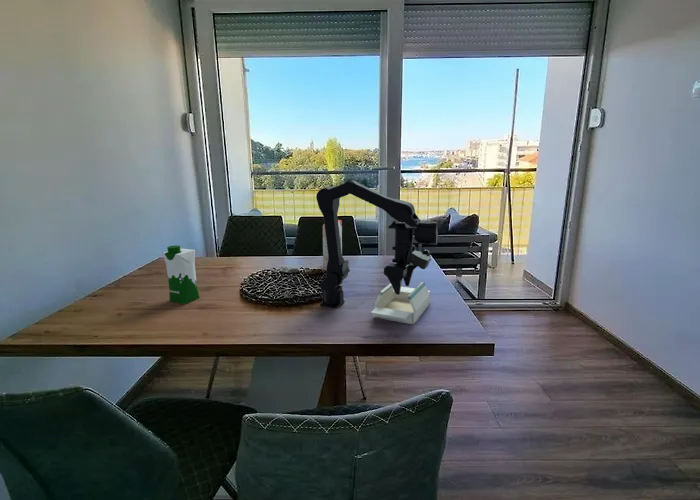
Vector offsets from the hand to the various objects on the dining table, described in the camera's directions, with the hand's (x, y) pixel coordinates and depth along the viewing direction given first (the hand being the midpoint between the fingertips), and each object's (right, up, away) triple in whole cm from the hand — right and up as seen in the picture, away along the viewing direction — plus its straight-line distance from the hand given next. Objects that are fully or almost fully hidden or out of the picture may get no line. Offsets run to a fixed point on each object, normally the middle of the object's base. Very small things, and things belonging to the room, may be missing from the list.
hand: (402, 289), depth 127 cm
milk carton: (-76, -5, +14) cm, 78 cm away
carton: (0, -7, +2) cm, 7 cm away
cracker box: (-25, +5, +53) cm, 59 cm away
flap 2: (+6, -4, -2) cm, 7 cm away
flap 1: (-6, -3, +4) cm, 7 cm away
